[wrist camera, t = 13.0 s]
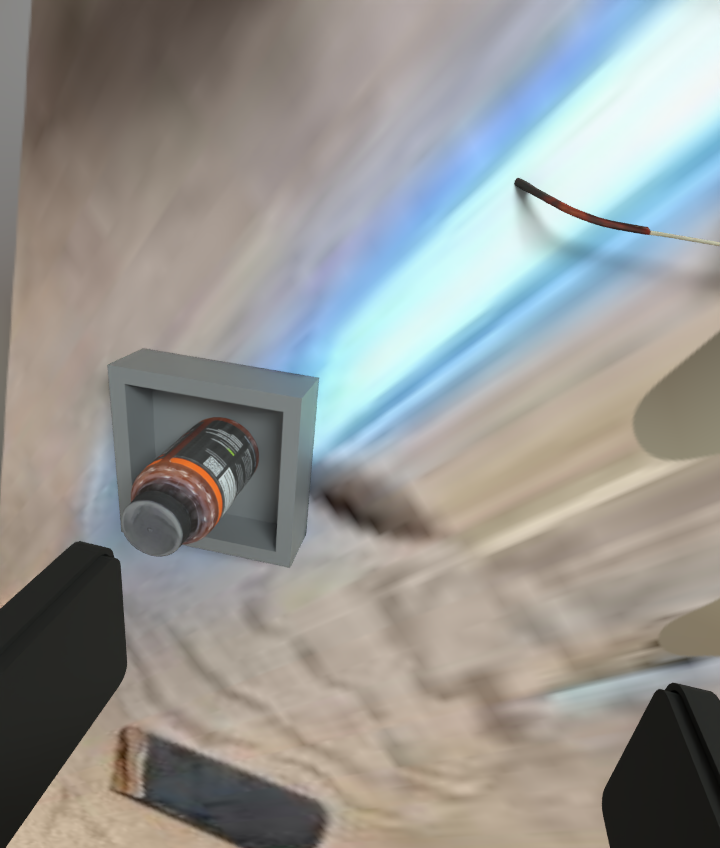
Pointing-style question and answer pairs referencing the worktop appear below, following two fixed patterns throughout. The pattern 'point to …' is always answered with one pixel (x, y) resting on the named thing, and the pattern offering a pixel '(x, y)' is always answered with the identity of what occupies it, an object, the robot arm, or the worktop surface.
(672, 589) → the worktop surface
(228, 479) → the supplement bottle
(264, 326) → the worktop surface
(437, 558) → the worktop surface
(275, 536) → the bin
